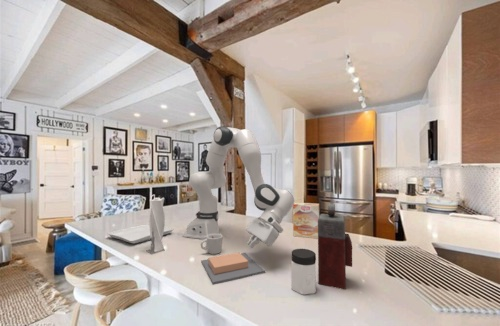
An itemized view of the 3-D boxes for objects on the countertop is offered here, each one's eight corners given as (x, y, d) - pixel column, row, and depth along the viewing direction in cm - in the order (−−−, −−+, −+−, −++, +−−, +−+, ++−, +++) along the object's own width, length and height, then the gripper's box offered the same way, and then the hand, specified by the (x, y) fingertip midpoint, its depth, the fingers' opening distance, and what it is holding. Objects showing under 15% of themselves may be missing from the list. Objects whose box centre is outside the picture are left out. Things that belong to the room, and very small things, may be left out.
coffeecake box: (293, 236, 132) (292, 203, 132) (294, 232, 138) (294, 202, 139) (319, 239, 126) (318, 205, 127) (319, 235, 133) (319, 203, 133)
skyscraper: (144, 250, 110) (145, 194, 111) (160, 246, 116) (160, 193, 116) (151, 255, 104) (152, 196, 105) (167, 250, 110) (168, 194, 111)
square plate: (174, 234, 137) (174, 228, 137) (131, 248, 114) (131, 240, 114) (149, 228, 151) (149, 222, 151) (106, 239, 128) (106, 232, 128)
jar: (296, 296, 70) (296, 258, 70) (286, 283, 78) (286, 249, 78) (321, 292, 72) (321, 256, 72) (309, 280, 80) (309, 247, 80)
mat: (201, 262, 95) (201, 260, 95) (245, 254, 104) (245, 252, 104) (213, 284, 77) (212, 282, 77) (265, 272, 86) (265, 270, 86)
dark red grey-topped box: (353, 291, 73) (352, 207, 74) (318, 284, 77) (317, 205, 78) (352, 278, 81) (351, 203, 82) (320, 272, 86) (319, 201, 86)
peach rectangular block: (239, 258, 97) (208, 264, 92) (239, 252, 97) (208, 257, 92) (248, 267, 88) (214, 274, 82) (248, 261, 88) (214, 267, 83)
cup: (203, 257, 100) (203, 240, 100) (198, 252, 107) (198, 235, 107) (225, 253, 105) (225, 236, 105) (219, 248, 112) (219, 232, 112)
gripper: (254, 212, 107) (236, 234, 103) (276, 221, 88) (254, 249, 84) (262, 220, 108) (244, 243, 104) (285, 231, 90) (264, 259, 86)
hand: (249, 246), depth 94 cm, fingers closed
